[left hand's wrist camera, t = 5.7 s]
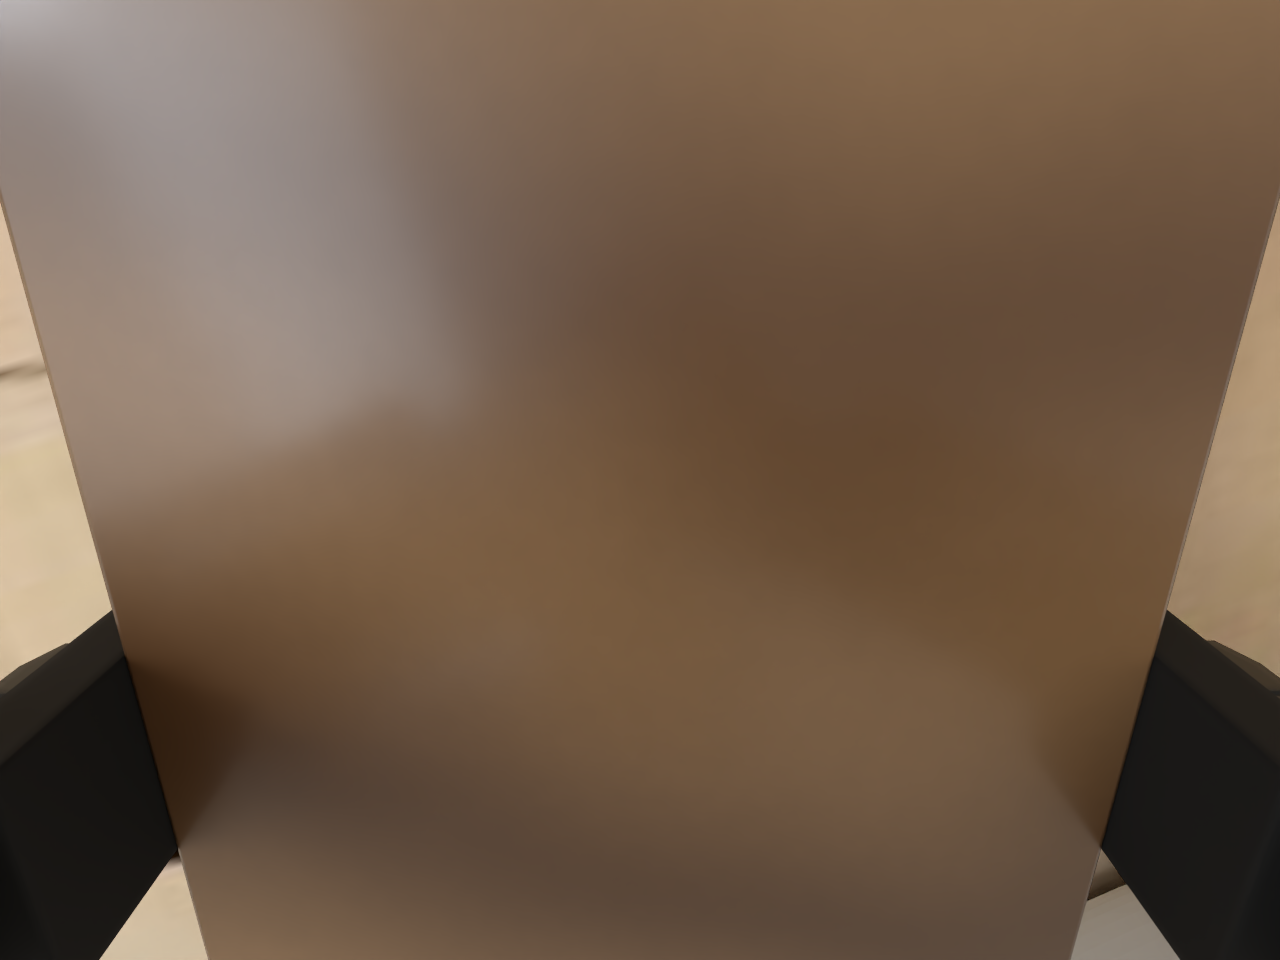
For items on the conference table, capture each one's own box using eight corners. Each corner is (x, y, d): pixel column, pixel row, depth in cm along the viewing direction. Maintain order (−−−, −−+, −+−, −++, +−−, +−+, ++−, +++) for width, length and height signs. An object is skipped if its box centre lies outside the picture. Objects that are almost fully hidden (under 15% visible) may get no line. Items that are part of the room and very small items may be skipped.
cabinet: (339, -375, 14) (-727, -2402, 3) (939, -374, 14) (2001, -2399, 3) (437, 577, 21) (215, 996, 10) (841, 577, 21) (1064, 996, 10)
